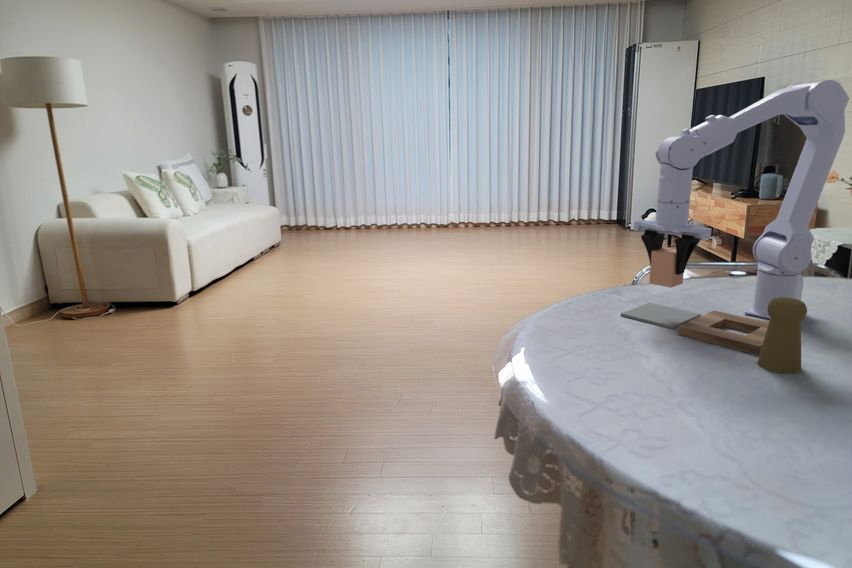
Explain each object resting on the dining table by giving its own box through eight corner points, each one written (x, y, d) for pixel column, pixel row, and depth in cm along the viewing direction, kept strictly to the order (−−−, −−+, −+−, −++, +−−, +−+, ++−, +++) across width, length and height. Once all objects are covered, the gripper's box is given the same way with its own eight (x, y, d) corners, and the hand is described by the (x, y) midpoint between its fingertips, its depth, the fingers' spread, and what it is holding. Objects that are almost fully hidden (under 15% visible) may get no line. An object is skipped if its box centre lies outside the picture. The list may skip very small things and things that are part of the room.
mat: (649, 304, 126) (649, 302, 126) (700, 316, 118) (700, 314, 118) (620, 315, 119) (620, 313, 119) (672, 328, 111) (672, 326, 111)
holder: (713, 317, 117) (713, 310, 117) (791, 335, 107) (792, 327, 106) (677, 333, 108) (678, 326, 108) (758, 354, 98) (759, 346, 97)
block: (660, 279, 119) (663, 247, 118) (682, 283, 116) (685, 250, 114) (649, 283, 116) (651, 250, 115) (670, 287, 113) (673, 254, 111)
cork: (808, 374, 90) (818, 305, 87) (764, 372, 91) (773, 303, 88) (792, 359, 96) (802, 294, 93) (751, 357, 97) (760, 293, 94)
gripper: (627, 200, 115) (622, 268, 118) (701, 207, 104) (693, 281, 108) (646, 197, 119) (641, 262, 123) (719, 203, 109) (711, 275, 112)
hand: (667, 271), depth 116 cm, fingers closed on block, 4 cm apart
